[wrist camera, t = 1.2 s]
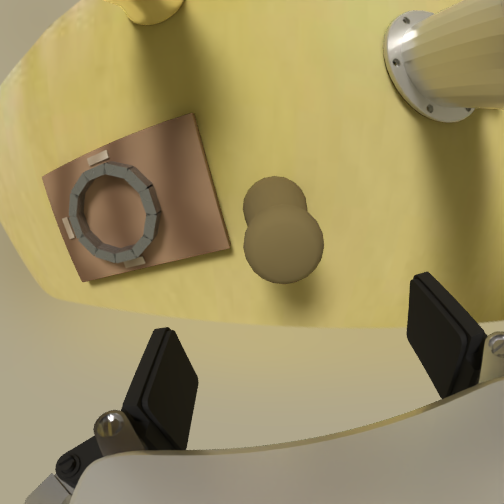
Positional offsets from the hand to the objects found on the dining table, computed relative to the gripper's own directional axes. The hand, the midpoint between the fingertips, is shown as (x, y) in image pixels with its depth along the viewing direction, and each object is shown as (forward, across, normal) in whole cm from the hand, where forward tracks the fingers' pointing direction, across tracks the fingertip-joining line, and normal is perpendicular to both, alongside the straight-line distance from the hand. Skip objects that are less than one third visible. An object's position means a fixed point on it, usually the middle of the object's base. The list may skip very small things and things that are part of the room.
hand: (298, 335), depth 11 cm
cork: (+19, 0, 0) cm, 19 cm away
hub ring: (+17, +15, -4) cm, 23 cm away
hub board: (+18, +14, -4) cm, 23 cm away
